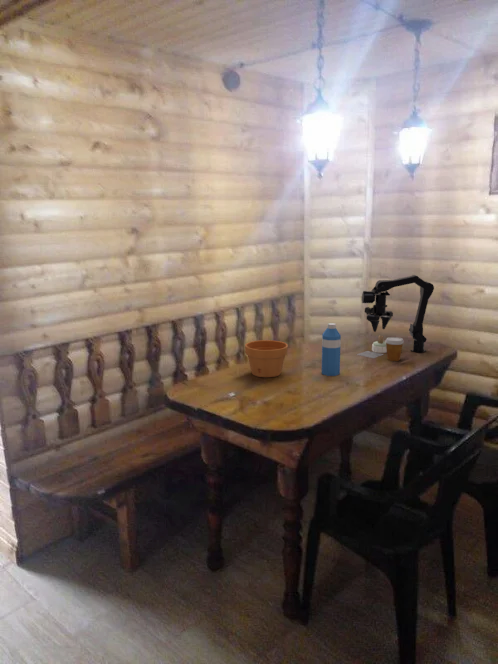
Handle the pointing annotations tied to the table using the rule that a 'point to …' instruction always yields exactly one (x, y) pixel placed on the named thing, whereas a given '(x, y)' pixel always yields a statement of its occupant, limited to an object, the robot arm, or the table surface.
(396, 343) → the disposable coffee cup
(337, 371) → the water bottle
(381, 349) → the bowl
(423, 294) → the robot arm
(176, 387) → the table surface
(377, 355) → the coaster
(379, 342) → the lid
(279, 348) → the flower pot
